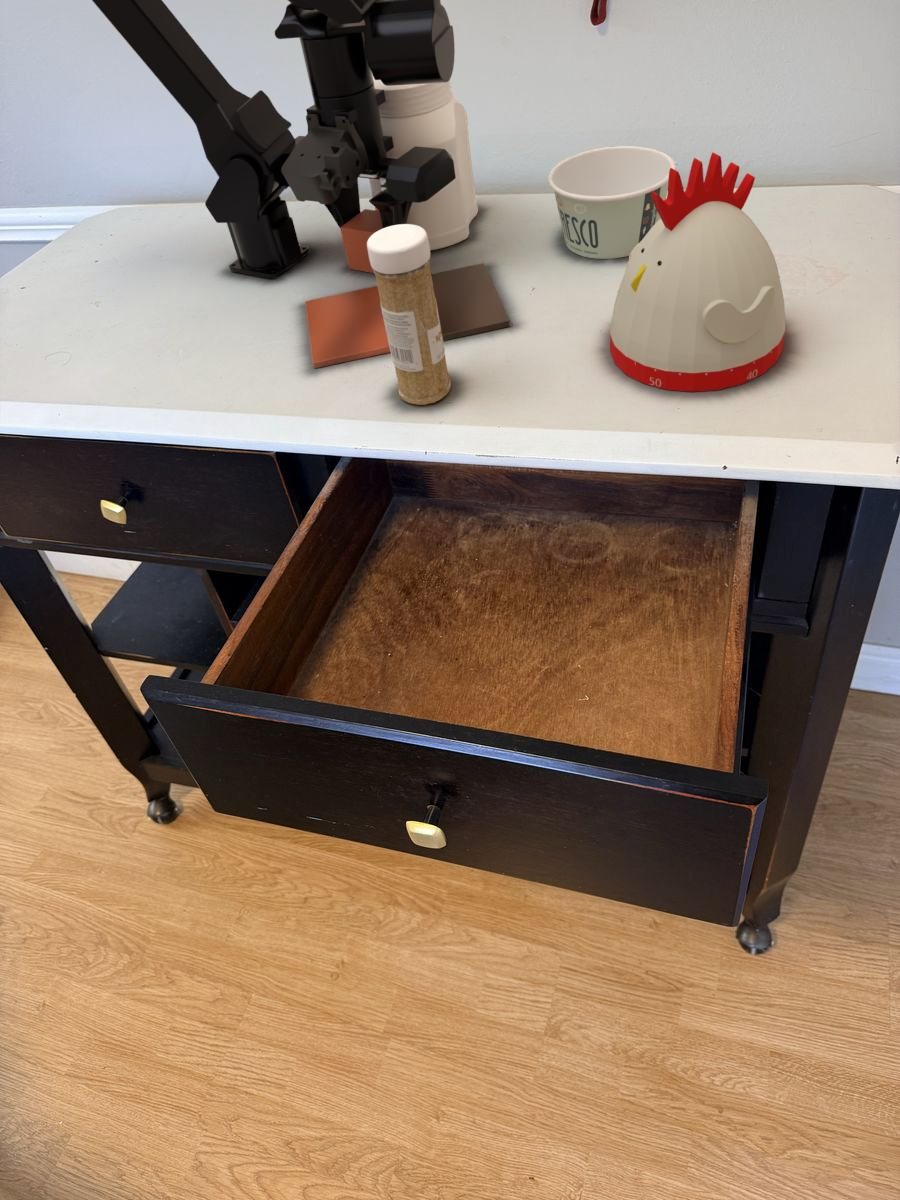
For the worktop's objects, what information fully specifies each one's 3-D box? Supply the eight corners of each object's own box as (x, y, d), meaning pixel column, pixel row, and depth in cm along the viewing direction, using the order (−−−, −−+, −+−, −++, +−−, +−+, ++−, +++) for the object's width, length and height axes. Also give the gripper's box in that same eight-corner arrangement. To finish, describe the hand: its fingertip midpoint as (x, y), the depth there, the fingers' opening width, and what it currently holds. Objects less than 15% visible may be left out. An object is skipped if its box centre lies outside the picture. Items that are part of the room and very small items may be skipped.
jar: (399, 206, 103) (373, 60, 92) (482, 202, 101) (465, 51, 90) (375, 254, 95) (343, 100, 85) (463, 250, 93) (442, 91, 82)
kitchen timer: (582, 332, 79) (576, 153, 68) (721, 286, 81) (736, 106, 70) (663, 411, 69) (671, 217, 59) (818, 357, 71) (853, 161, 61)
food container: (696, 223, 90) (700, 155, 85) (628, 276, 85) (628, 206, 80) (596, 202, 96) (595, 138, 92) (527, 250, 91) (522, 184, 86)
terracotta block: (349, 269, 94) (339, 227, 91) (373, 250, 96) (364, 208, 93) (383, 275, 92) (374, 232, 89) (407, 255, 94) (399, 213, 91)
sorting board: (314, 368, 81) (312, 362, 80) (306, 306, 89) (304, 300, 89) (510, 326, 81) (509, 320, 81) (484, 268, 90) (483, 262, 89)
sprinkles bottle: (462, 391, 75) (438, 233, 65) (416, 414, 74) (385, 255, 64) (432, 370, 78) (406, 215, 68) (388, 391, 77) (354, 237, 67)
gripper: (209, 114, 82) (258, 276, 93) (374, 127, 73) (407, 304, 85) (286, 71, 88) (323, 229, 99) (446, 79, 79) (468, 250, 91)
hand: (376, 252), depth 93 cm, fingers closed on terracotta block, 4 cm apart
